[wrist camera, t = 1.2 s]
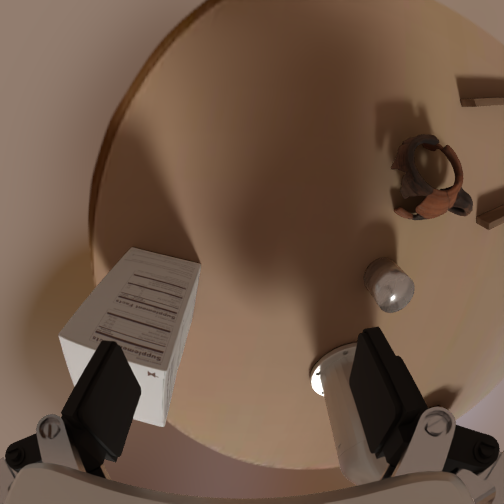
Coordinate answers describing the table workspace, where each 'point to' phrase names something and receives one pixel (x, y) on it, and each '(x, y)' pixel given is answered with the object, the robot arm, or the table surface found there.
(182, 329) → the supplement box
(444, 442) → the robot arm
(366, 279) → the grey tin
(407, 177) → the pottery mug
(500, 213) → the display frame
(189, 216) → the table surface
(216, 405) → the table surface
